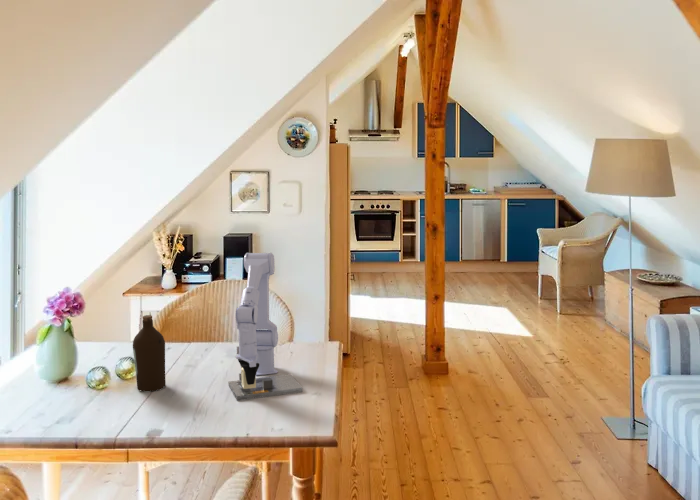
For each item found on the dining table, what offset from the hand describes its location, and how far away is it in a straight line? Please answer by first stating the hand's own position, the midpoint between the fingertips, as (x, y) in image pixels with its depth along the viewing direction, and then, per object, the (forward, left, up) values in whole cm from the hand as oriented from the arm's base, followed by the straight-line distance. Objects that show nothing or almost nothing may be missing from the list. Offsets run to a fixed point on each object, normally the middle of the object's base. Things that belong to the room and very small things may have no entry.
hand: (249, 381), depth 249 cm
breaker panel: (-3, +6, -4) cm, 8 cm away
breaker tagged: (0, +6, -3) cm, 7 cm away
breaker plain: (-8, 0, -3) cm, 8 cm away
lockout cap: (0, 0, -2) cm, 2 cm away
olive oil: (-19, -30, -5) cm, 36 cm away
